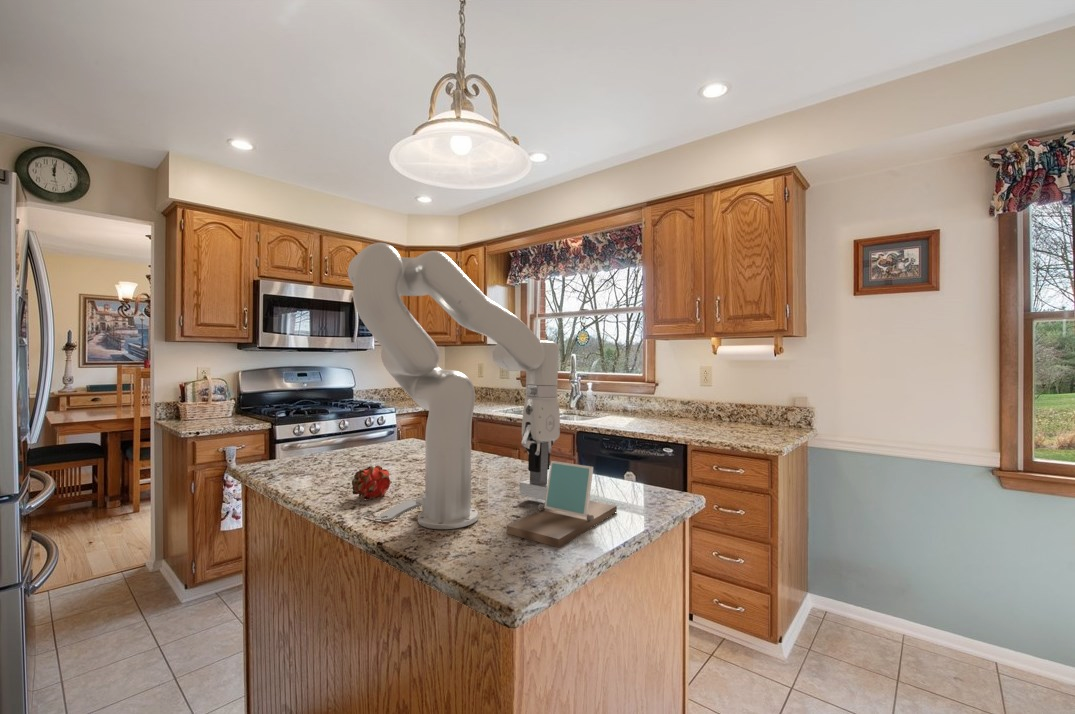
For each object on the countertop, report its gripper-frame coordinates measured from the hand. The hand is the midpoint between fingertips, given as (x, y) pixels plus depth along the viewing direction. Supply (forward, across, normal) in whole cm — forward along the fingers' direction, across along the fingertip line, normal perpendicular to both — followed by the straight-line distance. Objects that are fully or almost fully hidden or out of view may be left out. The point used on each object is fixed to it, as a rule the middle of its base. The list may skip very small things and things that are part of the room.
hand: (538, 469), depth 113 cm
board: (+8, -8, -12) cm, 17 cm away
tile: (+1, -6, -12) cm, 14 cm away
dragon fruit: (+9, -20, +36) cm, 42 cm away
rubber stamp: (+6, 0, 0) cm, 6 cm away
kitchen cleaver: (+10, -19, +24) cm, 31 cm away
